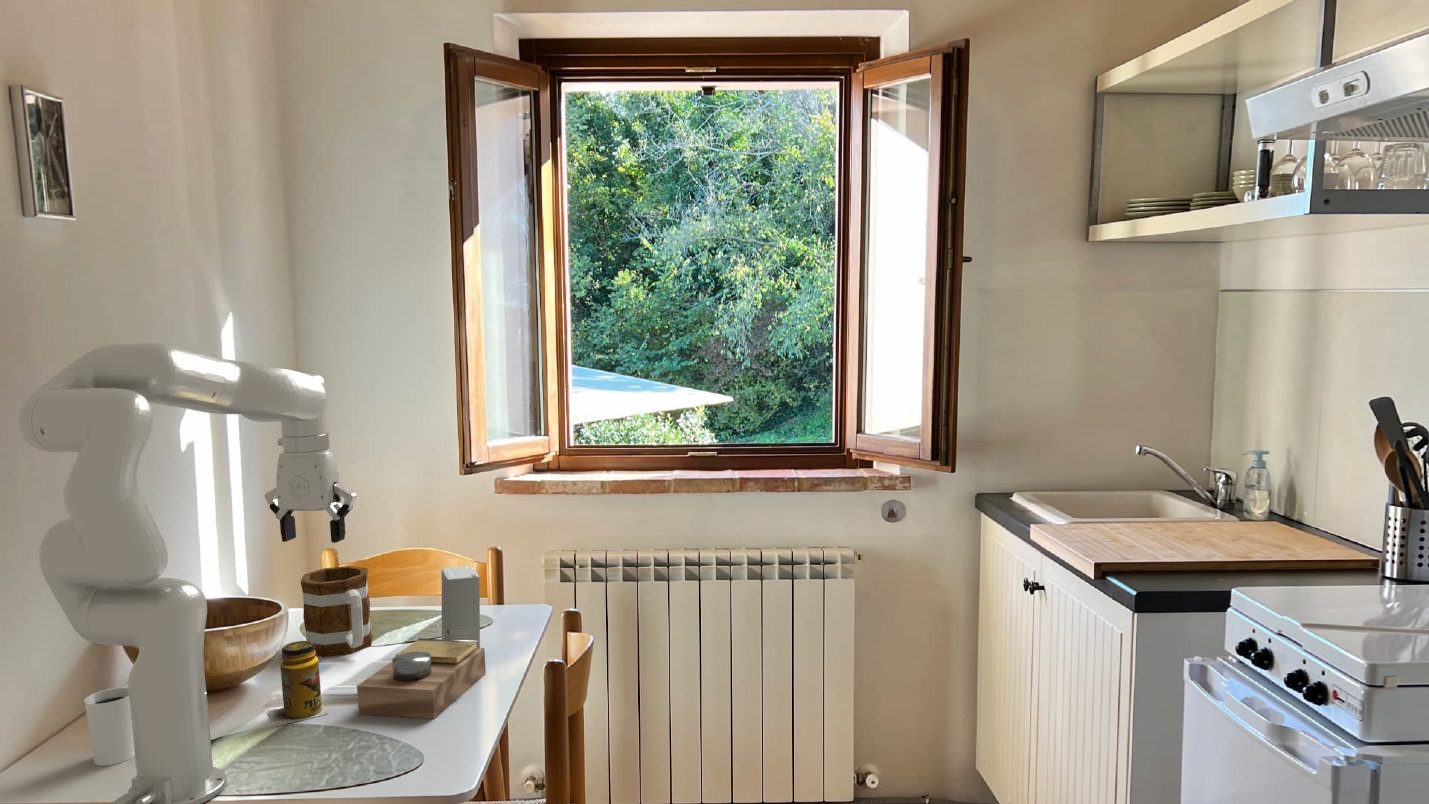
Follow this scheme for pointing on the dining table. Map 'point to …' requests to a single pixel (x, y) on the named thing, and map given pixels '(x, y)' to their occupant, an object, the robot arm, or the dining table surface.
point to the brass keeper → (443, 649)
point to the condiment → (299, 684)
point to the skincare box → (460, 604)
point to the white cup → (110, 726)
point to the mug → (337, 610)
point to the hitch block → (420, 689)
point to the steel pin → (411, 666)
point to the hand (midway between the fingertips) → (313, 540)
